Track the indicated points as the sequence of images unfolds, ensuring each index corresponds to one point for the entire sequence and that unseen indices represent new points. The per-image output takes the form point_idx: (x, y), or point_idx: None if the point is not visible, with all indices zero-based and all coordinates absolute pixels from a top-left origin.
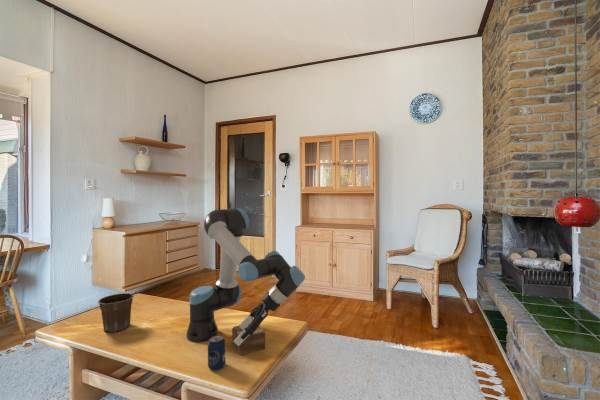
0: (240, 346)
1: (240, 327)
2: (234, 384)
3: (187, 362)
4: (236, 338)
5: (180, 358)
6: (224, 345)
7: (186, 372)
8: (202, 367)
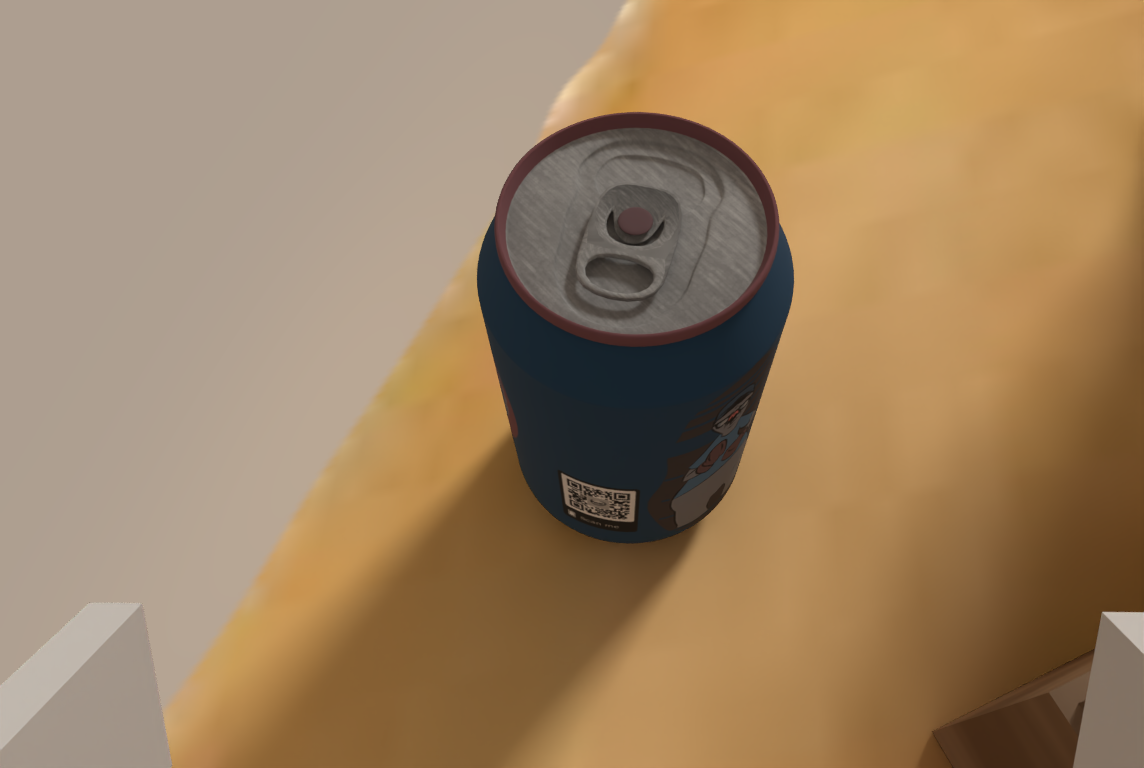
0: (994, 729)
1: (1091, 682)
2: (200, 752)
3: None
4: (21, 671)
5: (806, 66)
6: (608, 429)
7: None
8: None
